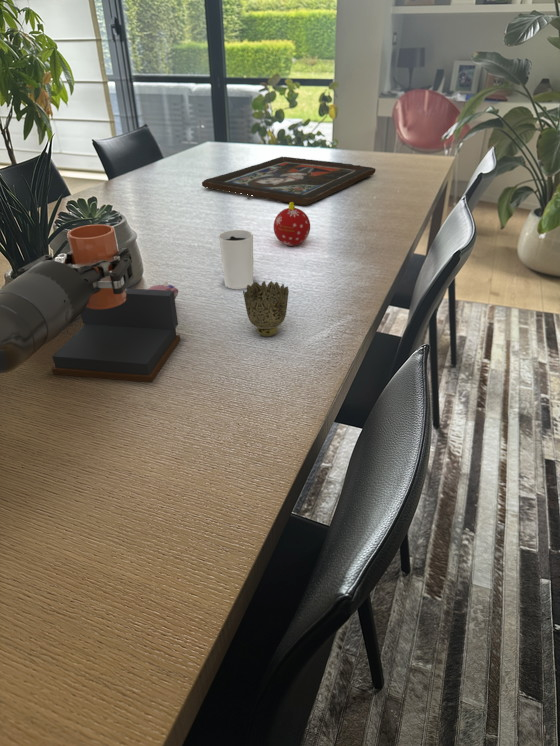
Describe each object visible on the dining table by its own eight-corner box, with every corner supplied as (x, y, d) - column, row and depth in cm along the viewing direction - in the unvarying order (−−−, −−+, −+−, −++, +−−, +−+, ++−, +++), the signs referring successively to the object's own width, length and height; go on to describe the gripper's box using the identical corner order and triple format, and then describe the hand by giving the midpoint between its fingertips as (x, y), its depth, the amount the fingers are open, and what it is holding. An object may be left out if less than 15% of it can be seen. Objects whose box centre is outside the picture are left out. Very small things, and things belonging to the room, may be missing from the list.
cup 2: (281, 346, 90) (279, 301, 85) (239, 340, 92) (236, 296, 87) (294, 325, 95) (294, 283, 91) (255, 320, 98) (252, 278, 93)
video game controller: (139, 334, 98) (146, 306, 93) (120, 318, 98) (127, 289, 93) (176, 312, 104) (185, 285, 100) (159, 298, 105) (167, 270, 100)
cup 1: (75, 308, 76) (58, 237, 71) (95, 290, 81) (80, 223, 76) (116, 310, 75) (101, 239, 70) (133, 292, 80) (121, 225, 75)
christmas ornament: (266, 246, 130) (265, 203, 124) (288, 236, 136) (287, 195, 130) (296, 253, 125) (295, 209, 120) (317, 242, 131) (317, 200, 126)
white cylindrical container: (217, 287, 110) (212, 239, 105) (231, 275, 115) (227, 228, 110) (247, 291, 108) (244, 242, 103) (260, 279, 113) (258, 231, 108)
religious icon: (198, 191, 175) (197, 181, 173) (279, 164, 205) (279, 155, 204) (305, 209, 155) (305, 198, 153) (377, 176, 186) (377, 166, 184)
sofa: (52, 374, 84) (37, 321, 79) (92, 333, 95) (80, 285, 90) (151, 382, 81) (141, 328, 77) (180, 340, 92) (173, 290, 87)
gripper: (91, 277, 60) (149, 228, 74) (-27, 271, 62) (51, 225, 76) (104, 337, 64) (157, 281, 78) (-7, 329, 66) (64, 276, 80)
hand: (104, 253), depth 77 cm, fingers closed on cup 1, 6 cm apart
